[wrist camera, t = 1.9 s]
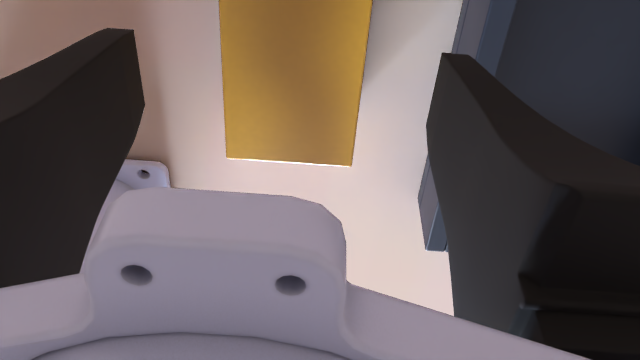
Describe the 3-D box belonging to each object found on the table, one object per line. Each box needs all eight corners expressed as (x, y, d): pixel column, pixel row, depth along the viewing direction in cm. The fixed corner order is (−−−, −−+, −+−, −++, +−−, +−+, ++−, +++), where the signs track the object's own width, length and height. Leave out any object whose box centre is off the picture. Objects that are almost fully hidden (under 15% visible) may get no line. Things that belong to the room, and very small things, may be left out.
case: (417, 197, 27) (425, 251, 24) (521, -253, 16) (554, -242, 14) (625, 211, 27) (654, 266, 24) (863, -224, 16) (959, -208, 14)
